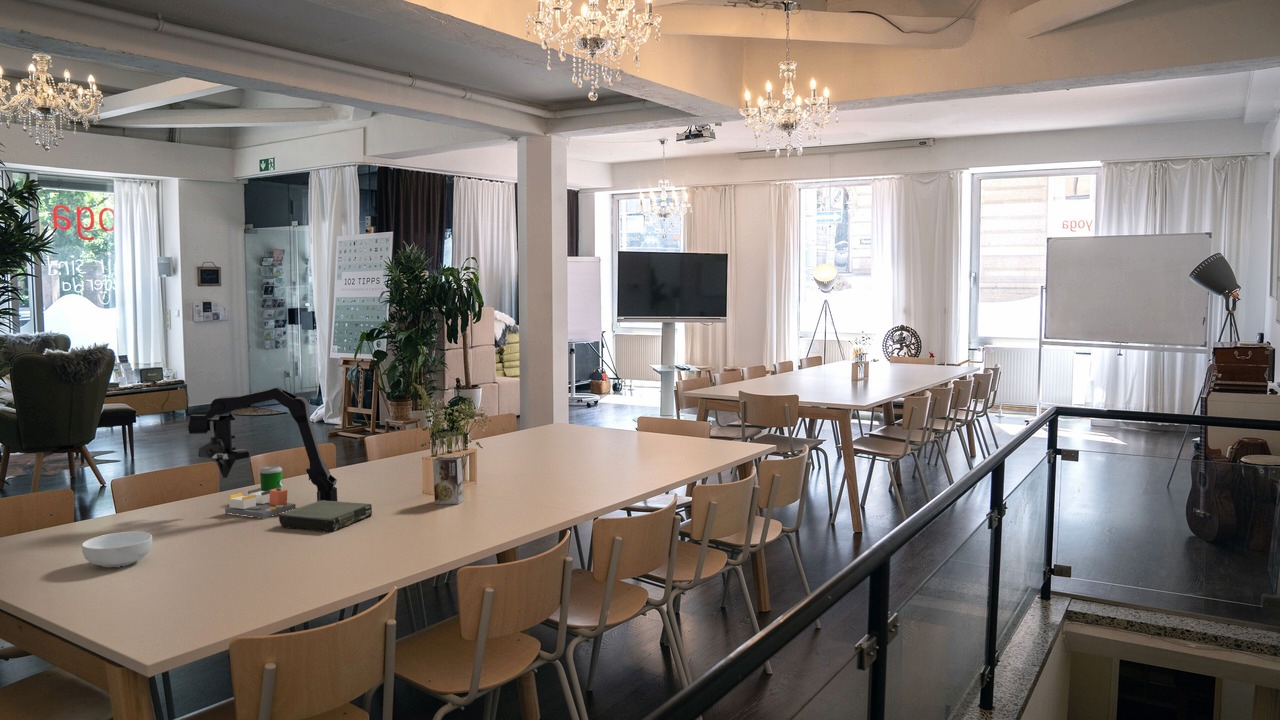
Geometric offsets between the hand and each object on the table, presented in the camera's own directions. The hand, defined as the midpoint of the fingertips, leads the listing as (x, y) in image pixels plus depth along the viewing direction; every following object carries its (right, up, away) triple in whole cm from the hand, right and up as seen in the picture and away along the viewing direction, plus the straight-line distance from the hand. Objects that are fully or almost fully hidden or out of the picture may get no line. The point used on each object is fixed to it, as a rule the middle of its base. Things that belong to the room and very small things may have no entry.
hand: (225, 477), depth 303 cm
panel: (+13, -12, -1) cm, 17 cm away
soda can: (+8, -11, +19) cm, 23 cm away
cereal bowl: (-2, -17, -59) cm, 61 cm away
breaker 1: (+7, -10, -3) cm, 12 cm away
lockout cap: (+18, -9, +1) cm, 20 cm away
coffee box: (+76, -10, +10) cm, 77 cm away
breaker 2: (+11, -9, +5) cm, 15 cm away
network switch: (+41, -13, -16) cm, 46 cm away
